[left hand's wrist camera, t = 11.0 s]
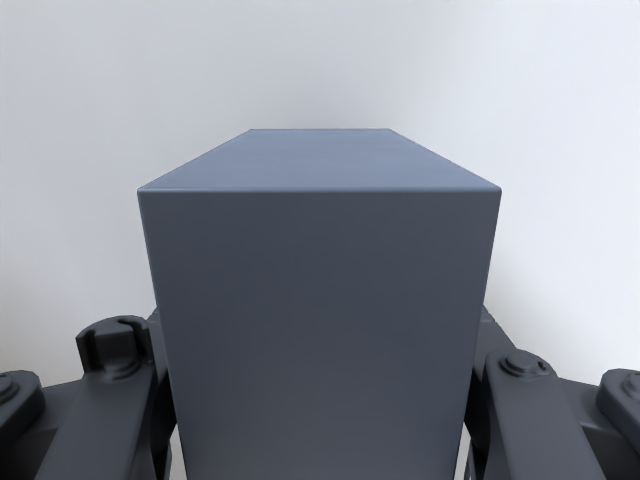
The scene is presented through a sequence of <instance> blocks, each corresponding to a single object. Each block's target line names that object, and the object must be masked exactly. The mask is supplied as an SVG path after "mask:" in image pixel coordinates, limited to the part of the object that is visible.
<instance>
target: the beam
mask: <svg viewBox="0 0 640 480" xmlns="http://www.w3.org/2000/svg"><path fill="white" fill-rule="evenodd" d="M501 194H502V191H501V188H500V187H498V186H496V185H495V184H493V183H491V182H489V181H487V180H485V179H483V178H481V177H479V176H477V175H476V174H474V173H472V172H470V171H468V170H466V169H464V168H462V167H460V166H458V165H457V164H455V163H453V162H451V161H449V160H447V159H445V158H443V157H441V156H440V155H438V154H436V153H434V152H432V151H430V150H428V149H426V148H424V147H422V146H421V145H419V144H417V143H415V142H413V141H411V140H409V139H407V138H405V137H404V136H402V135H400V134H398V133H396V132H394V131H392V130H390V129H251V130H249V131H247V132H245V133H243V134H241V135H239V136H237V137H235V138H234V139H232V140H230V141H228V142H226V143H224V144H222V145H220V146H218V147H217V148H215V149H213V150H211V151H209V152H207V153H205V154H203V155H201V156H199V157H198V158H196V159H194V160H192V161H190V162H188V163H186V164H184V165H182V166H180V167H179V168H177V169H175V170H173V171H171V172H169V173H167V174H165V175H163V176H161V177H160V178H158V179H156V180H154V181H152V182H150V183H148V184H146V185H144V186H142V187H141V188H139V189H138V191H137V196H138V201H139V207H140V213H141V219H142V224H143V230H144V236H145V241H146V247H147V253H148V259H149V264H150V270H151V276H152V282H153V287H154V293H155V299H156V304H157V310H158V316H159V322H160V327H161V333H162V339H163V344H164V350H165V356H166V362H167V367H168V373H169V379H170V385H171V390H172V396H173V402H174V407H175V413H176V419H177V425H178V430H179V436H180V442H181V448H182V453H183V459H184V465H185V470H186V476H187V480H454V475H455V469H456V463H457V457H458V451H459V445H460V439H461V433H462V427H463V421H464V415H465V409H466V403H467V398H468V392H469V386H470V380H471V374H472V368H473V362H474V356H475V350H476V344H477V338H478V332H479V326H480V320H481V314H482V308H483V302H484V296H485V290H486V284H487V278H488V272H489V266H490V260H491V254H492V248H493V242H494V236H495V230H496V224H497V218H498V212H499V206H500V200H501Z"/></svg>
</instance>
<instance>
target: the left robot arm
mask: <svg viewBox="0 0 640 480" xmlns="http://www.w3.org/2000/svg"><path fill="white" fill-rule="evenodd" d="M75 339H76V343H77V347H78V350H79V354H80V358H81V362H82V366H83V369H84V375H83V377H82V379H80V380H77V381H73V382H68V383H63V384H59V385H54V386H49V387H44V388H42V386H41V383H40V380H39V377H38V376H37V375H36V374H35V373H33V372H31V371H24V370H19V371H10V372H5V373H0V480H169V477H170V469H171V461H172V452H171V446H170V437H171V435H172V433H173V430H174V428H175V426H176V423H177V419H176V413H175V407H174V402H173V396H172V390H171V385H170V379H169V373H168V367H167V362H166V356H165V350H164V344H163V339H162V333H161V327H160V322H159V316H158V310H157V308H156V309H155V310H154V312H153V314H152V315H150V317H149V318H148V319H147V321H146V320H145V319H143V318H142V317H138V316H133V315H128V316H116V317H112V318H107V319H104V320H101V321H99V322H96V323H94V324H92V325H90V326H89V327H87V328H85V329H84V330H82V331H81V332H80V333H79V334H78V336H77V337H76V338H75ZM463 422H464V423H465V425H466V427H467V429H468V432H469V434H470V436H471V440H470V446H469V451H468V457H467V462H466V468H465V473H464V480H469V479H470V476H471V480H640V371H636V370H628V369H620V368H619V369H612V370H608V371H607V372H606V373H604V374H603V376H602V379H601V382H600V385H599V386H595V385H590V384H585V383H581V382H576V381H571V380H567V379H563V378H559V377H558V376H557V374H556V372H555V371H554V370H553V368H552V367H551V366H550V364H548V363H547V362H546V361H544V360H543V359H541V358H540V357H539V356H536V355H534V354H532V353H529V352H527V351H524V350H520V349H517V348H516V347H515V346H514V344H513V343H512V342H511V340H510V339H509V338H508V336H507V335H506V334H505V333H504V331H503V330H502V329H501V327H500V326H499V325H498V323H497V322H495V320H494V318H493V317H492V316H491V314H488V311H487V309H486V308H485V307H484V305H483V308H482V314H481V320H480V326H479V332H478V338H477V344H476V350H475V356H474V362H473V368H472V374H471V380H470V386H469V392H468V398H467V403H466V409H465V415H464V421H463ZM462 428H463V427H462ZM178 431H179V430H178ZM461 434H462V433H461ZM179 437H180V436H179Z"/></svg>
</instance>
